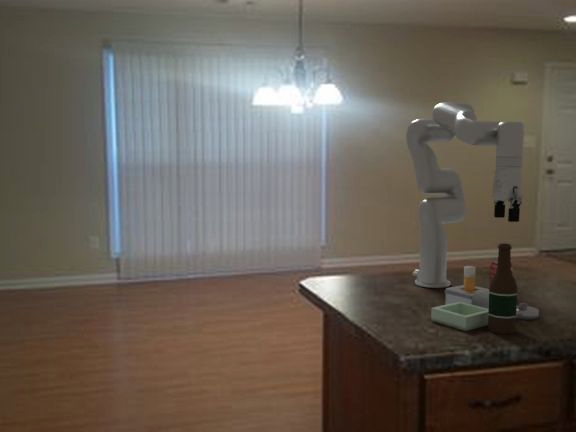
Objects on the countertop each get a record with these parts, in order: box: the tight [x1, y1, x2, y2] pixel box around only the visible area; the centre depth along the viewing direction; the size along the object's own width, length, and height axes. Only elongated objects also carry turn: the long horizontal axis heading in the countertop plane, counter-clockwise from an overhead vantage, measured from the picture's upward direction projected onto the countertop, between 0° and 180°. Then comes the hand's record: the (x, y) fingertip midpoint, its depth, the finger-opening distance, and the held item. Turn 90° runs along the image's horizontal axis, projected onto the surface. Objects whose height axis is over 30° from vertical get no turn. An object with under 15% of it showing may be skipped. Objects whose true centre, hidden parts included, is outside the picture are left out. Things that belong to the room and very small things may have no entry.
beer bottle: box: [487, 243, 518, 335], centre depth 175 cm, size 8×8×24 cm
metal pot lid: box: [516, 302, 540, 321], centre depth 192 cm, size 9×9×4 cm
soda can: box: [489, 259, 514, 283], centre depth 209 cm, size 7×7×13 cm
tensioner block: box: [444, 284, 489, 309], centre depth 200 cm, size 10×11×6 cm
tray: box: [430, 302, 489, 332], centre depth 185 cm, size 12×12×4 cm
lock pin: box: [463, 265, 477, 292], centre depth 200 cm, size 3×3×13 cm
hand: (506, 219), depth 195 cm, fingers open, 9 cm apart
